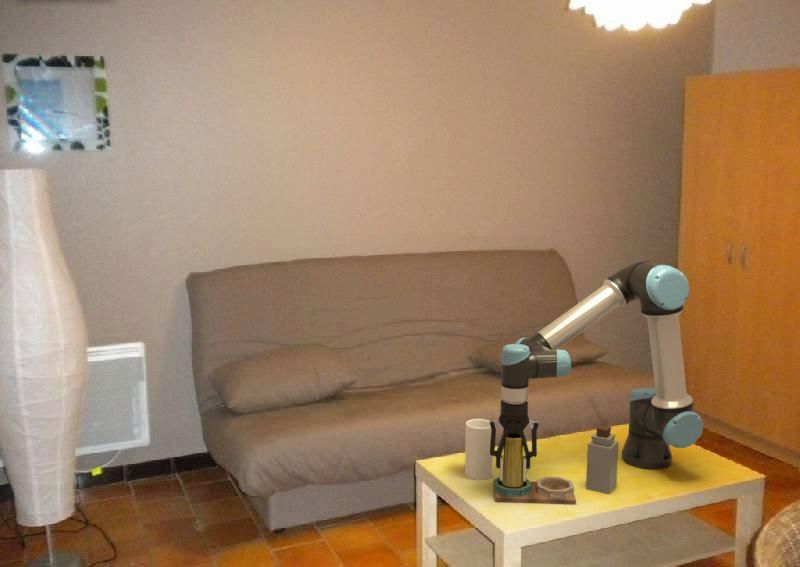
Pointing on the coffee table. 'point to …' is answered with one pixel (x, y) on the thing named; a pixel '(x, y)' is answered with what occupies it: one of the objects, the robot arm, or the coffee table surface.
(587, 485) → the perfume bottle
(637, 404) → the robot arm
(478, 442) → the cup
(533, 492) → the board
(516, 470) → the vase
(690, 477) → the coffee table surface
